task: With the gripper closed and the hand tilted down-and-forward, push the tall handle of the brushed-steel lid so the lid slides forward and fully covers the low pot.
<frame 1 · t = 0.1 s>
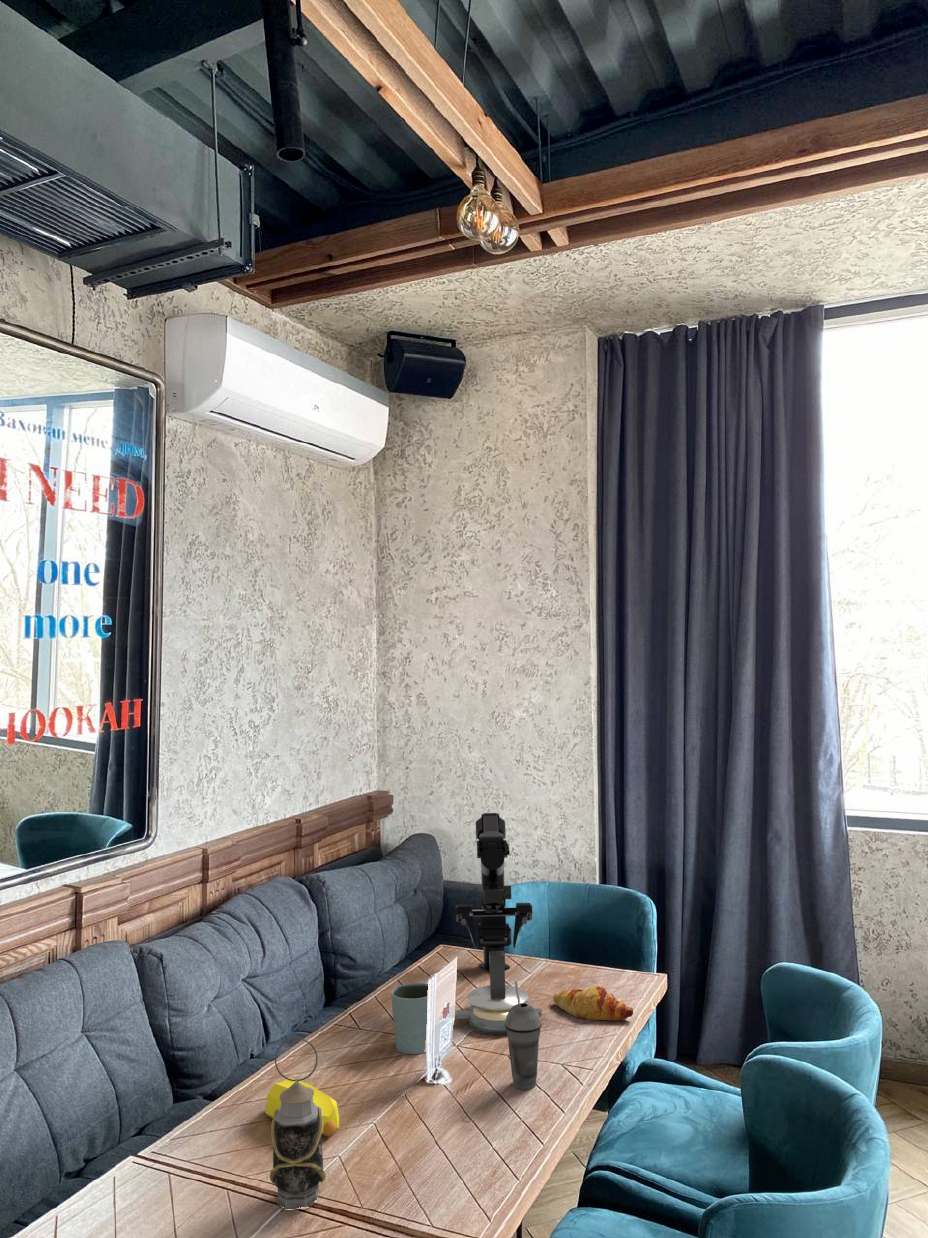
hand: (495, 948, 222), 15 cm above the table, tool tilted 35°, fingers open, 9 cm apart
lantern: (298, 1200, 146), on the table
yellow rounded lump: (302, 1125, 170), on the table
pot: (499, 1023, 213), on the table
lid: (497, 976, 220), point 9 cm above the table, slide at -6.0 cm
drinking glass: (414, 1047, 202), on the table
croissant: (592, 1014, 218), on the table
beverage cup: (524, 1085, 183), on the table
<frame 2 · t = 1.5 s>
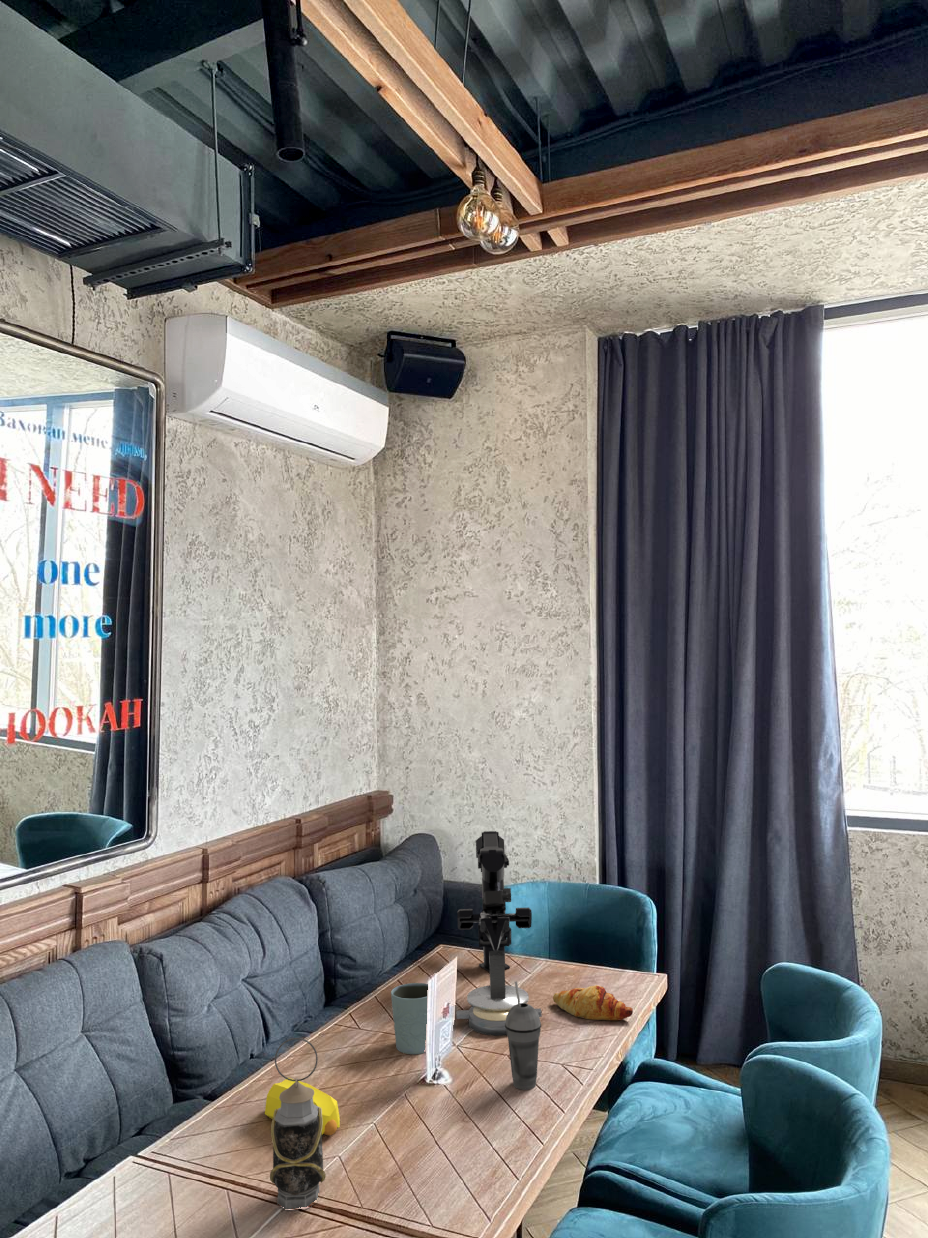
hand: (495, 950, 228), 12 cm above the table, tool tilted 45°, fingers closed
nothing on the table moved.
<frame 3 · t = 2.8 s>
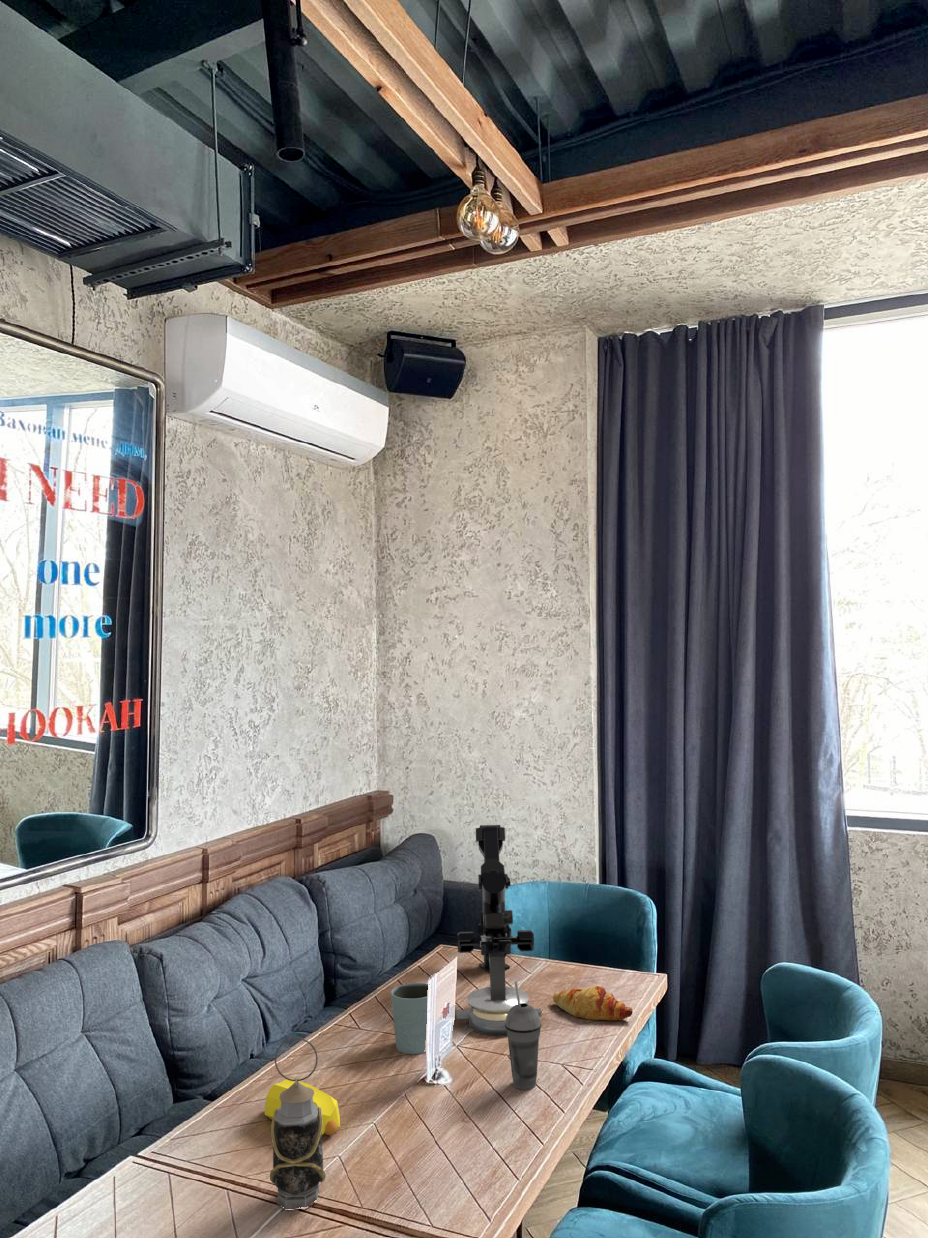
hand: (496, 974, 221), 9 cm above the table, tool tilted 45°, fingers closed, pressing on lid
lid: (497, 977, 219), point 9 cm above the table, slide at -5.0 cm, touching gripper
everything else where it was.
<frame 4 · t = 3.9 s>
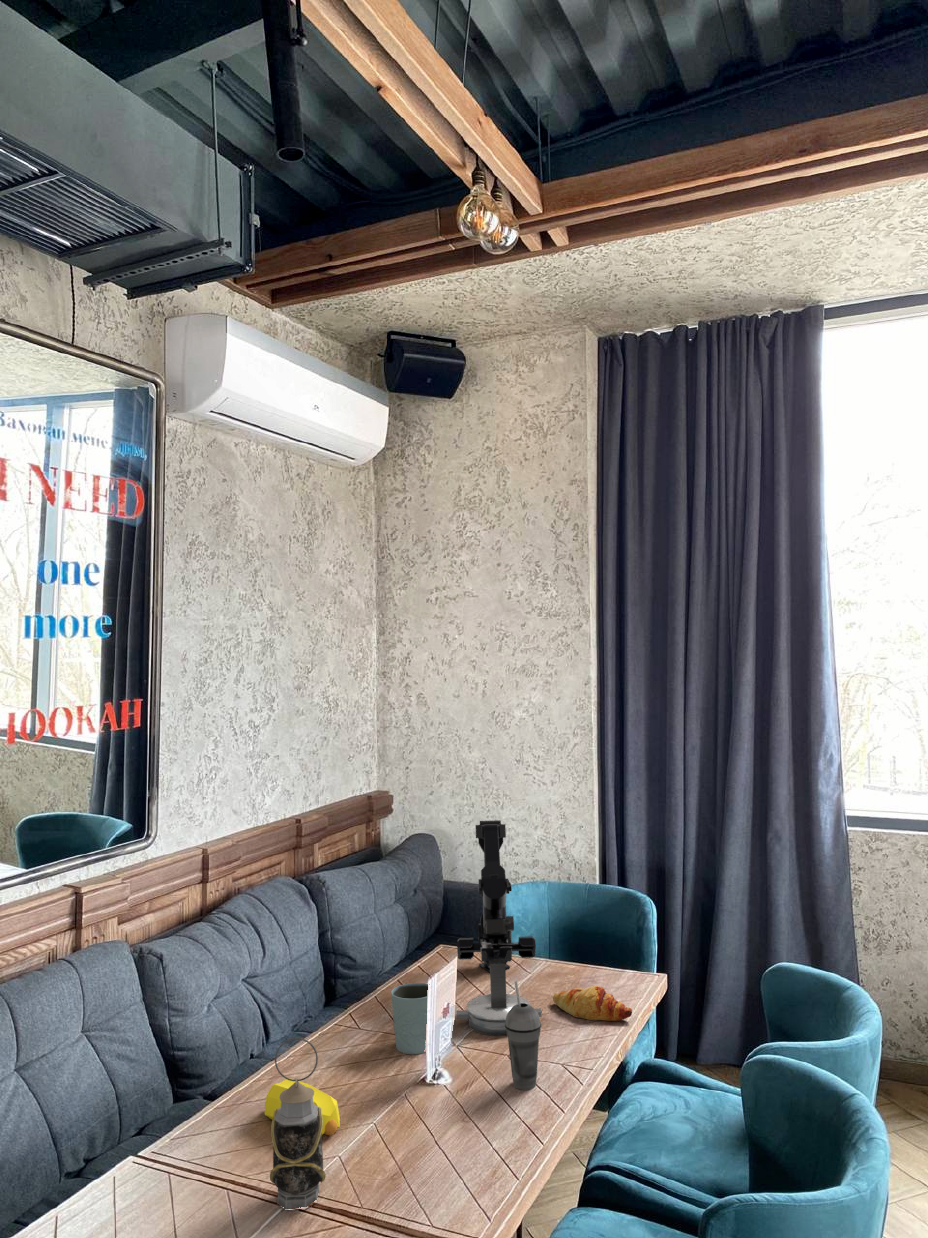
hand: (497, 982, 216), 9 cm above the table, tool tilted 45°, fingers closed
lid: (498, 985, 214), point 9 cm above the table, slide at -0.2 cm
everything else where it was.
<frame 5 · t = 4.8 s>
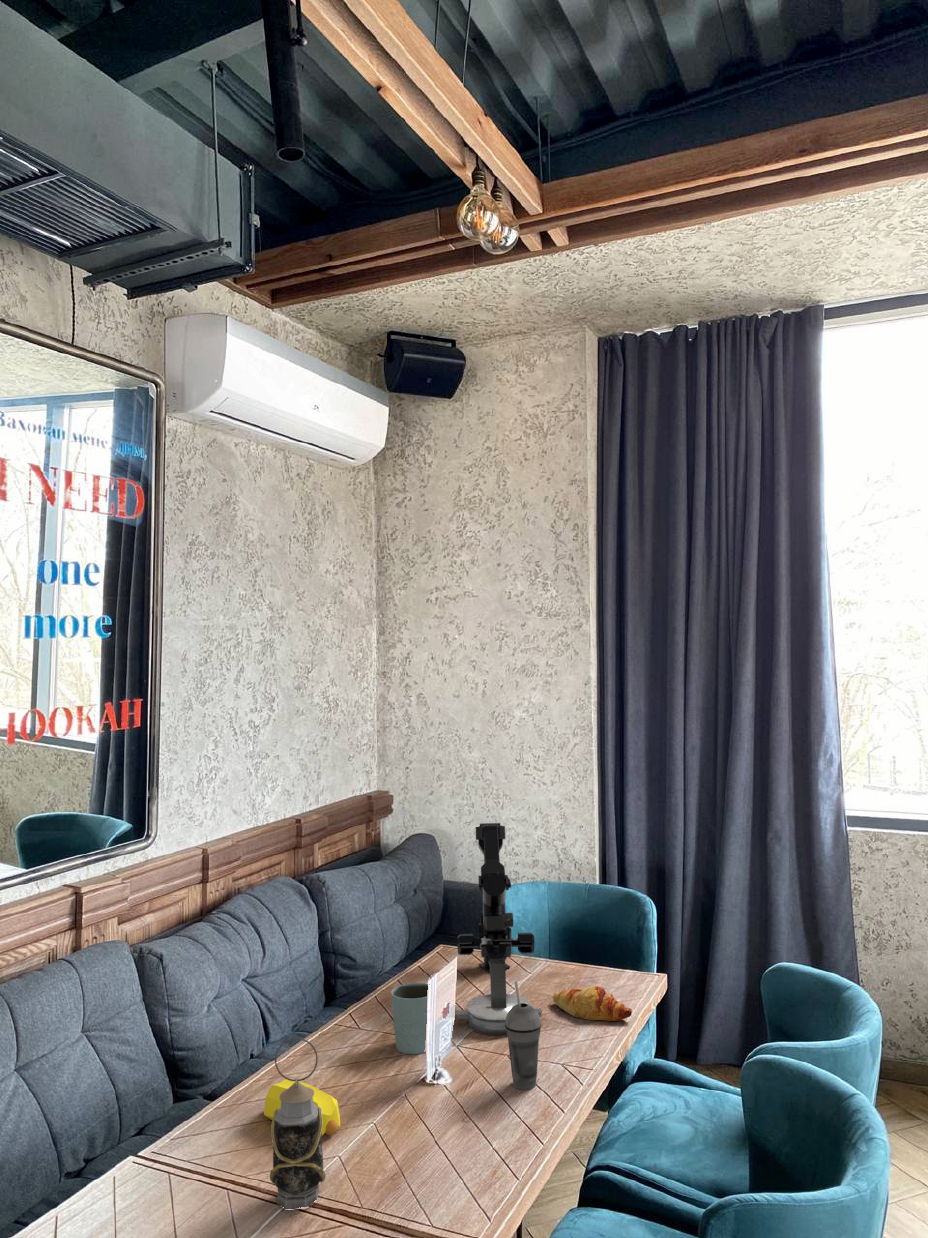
hand: (497, 977, 220), 8 cm above the table, tool tilted 45°, fingers closed
nothing on the table moved.
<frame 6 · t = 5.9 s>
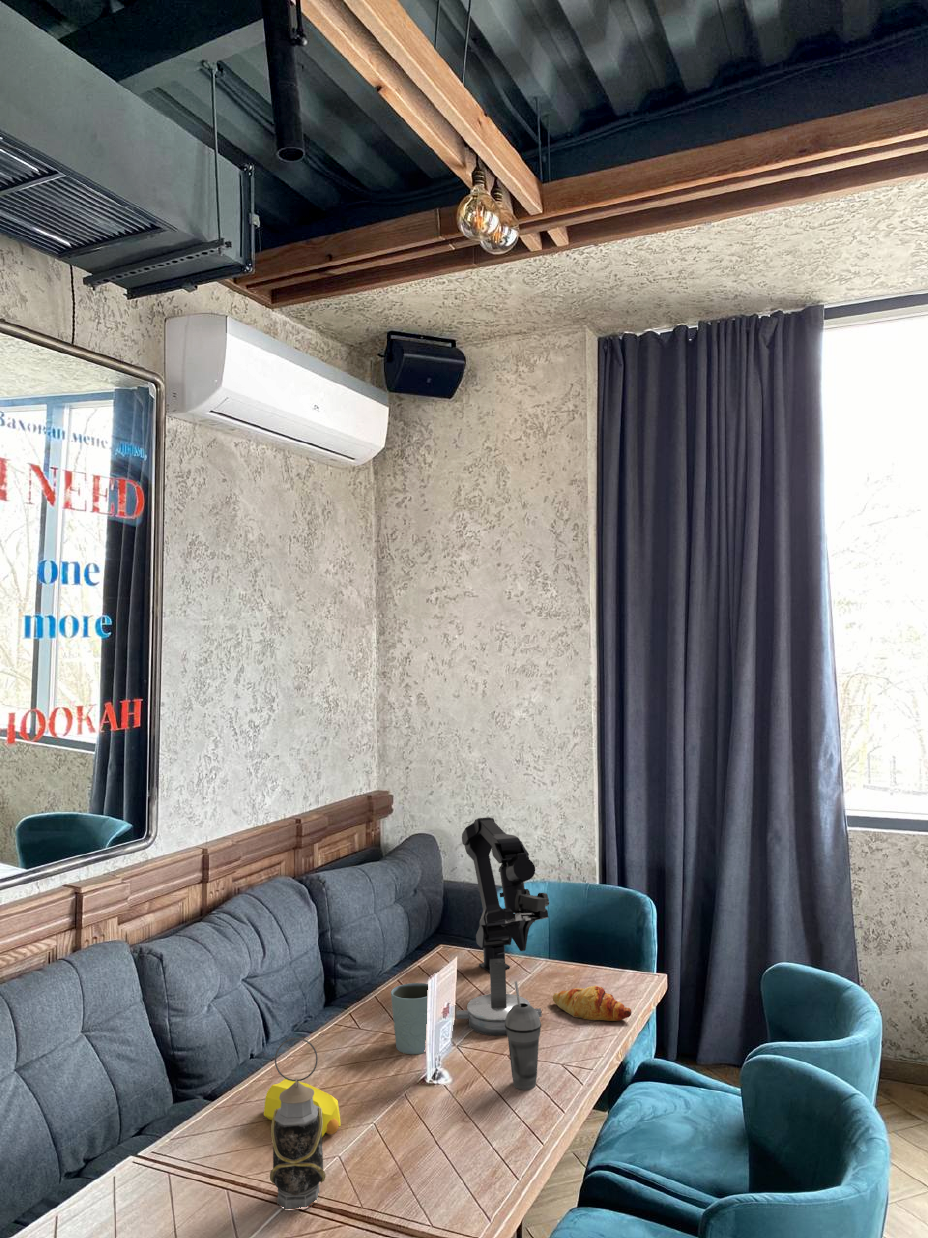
hand: (522, 951, 231), 11 cm above the table, tool tilted 20°, fingers closed
nothing on the table moved.
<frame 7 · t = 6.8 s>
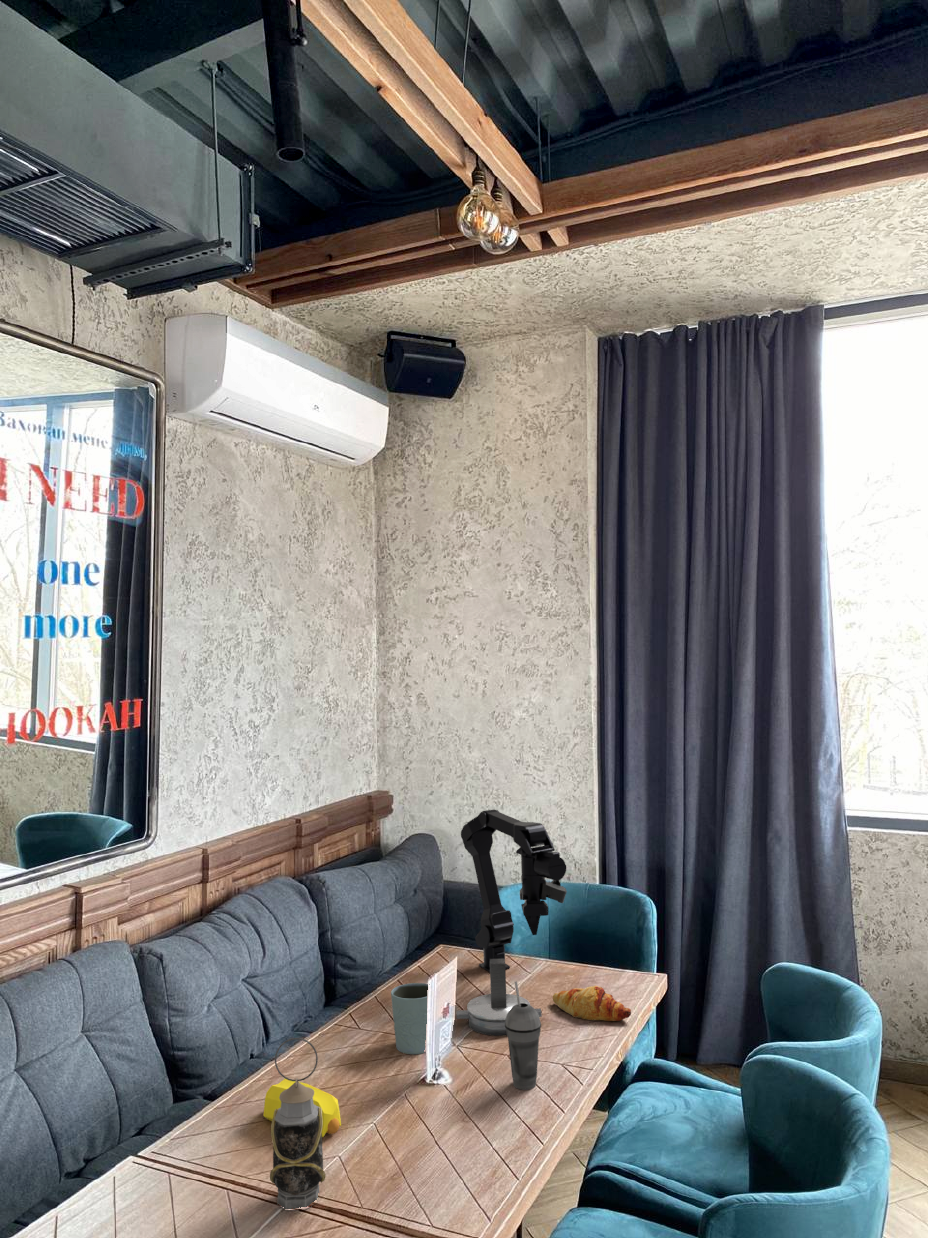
hand: (534, 934, 237), 13 cm above the table, tool pointing down, fingers closed
nothing on the table moved.
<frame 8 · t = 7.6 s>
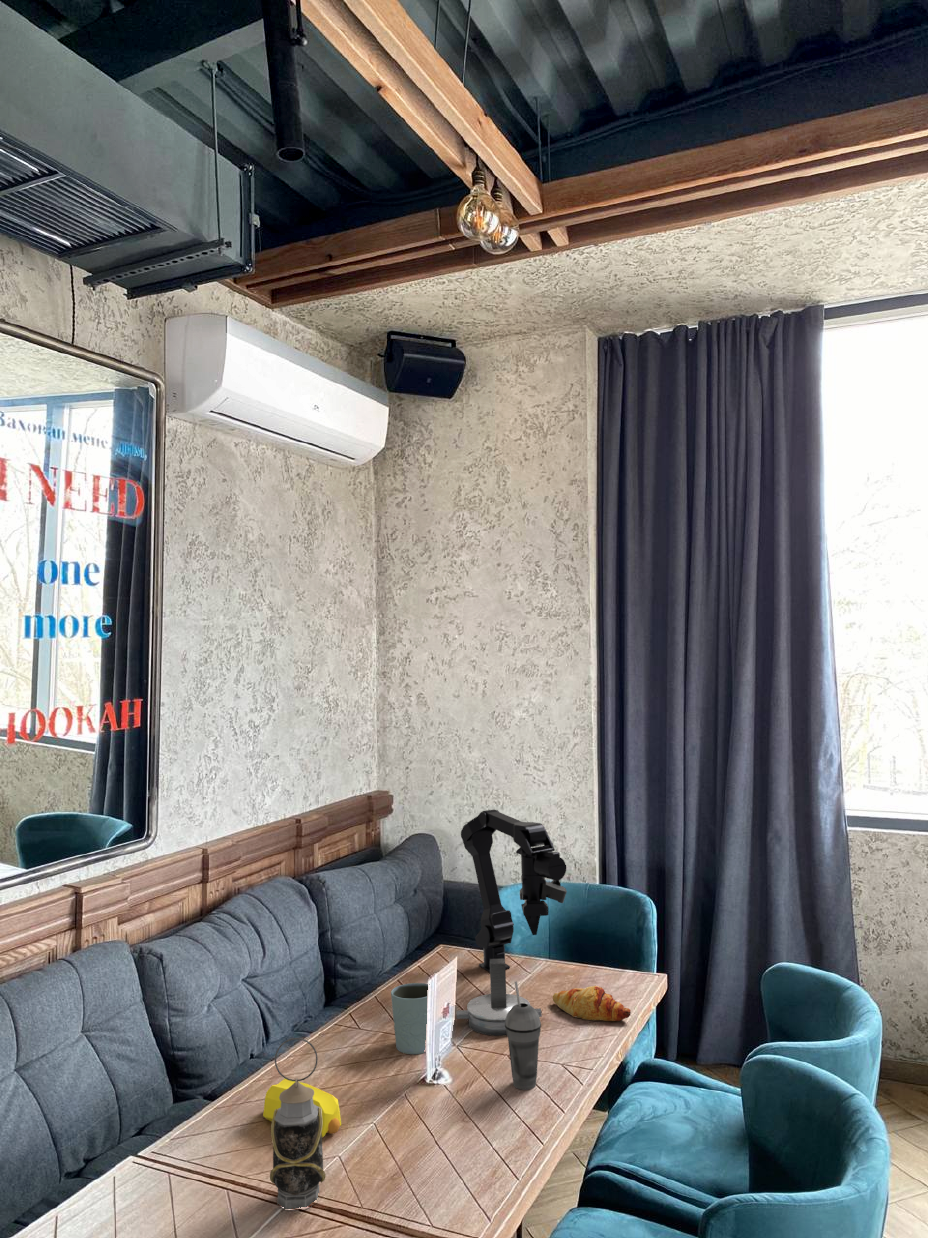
hand: (534, 934, 237), 13 cm above the table, tool pointing down, fingers closed
nothing on the table moved.
at the end: lid slide at -0.2 cm; the gripper is holding nothing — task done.
